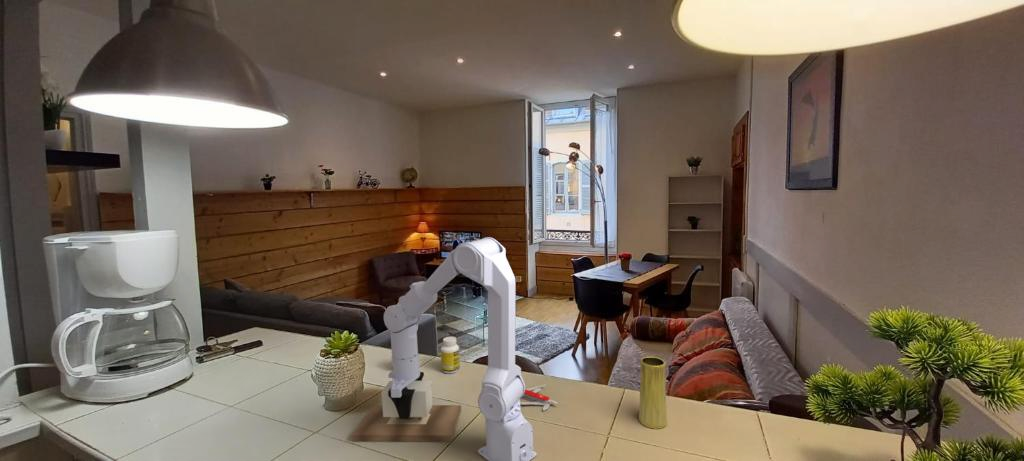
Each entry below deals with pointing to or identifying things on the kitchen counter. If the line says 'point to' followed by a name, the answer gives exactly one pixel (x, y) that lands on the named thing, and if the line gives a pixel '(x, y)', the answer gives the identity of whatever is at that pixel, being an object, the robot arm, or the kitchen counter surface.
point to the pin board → (408, 426)
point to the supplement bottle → (450, 355)
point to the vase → (652, 393)
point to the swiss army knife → (536, 398)
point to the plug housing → (419, 400)
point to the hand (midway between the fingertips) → (408, 411)
